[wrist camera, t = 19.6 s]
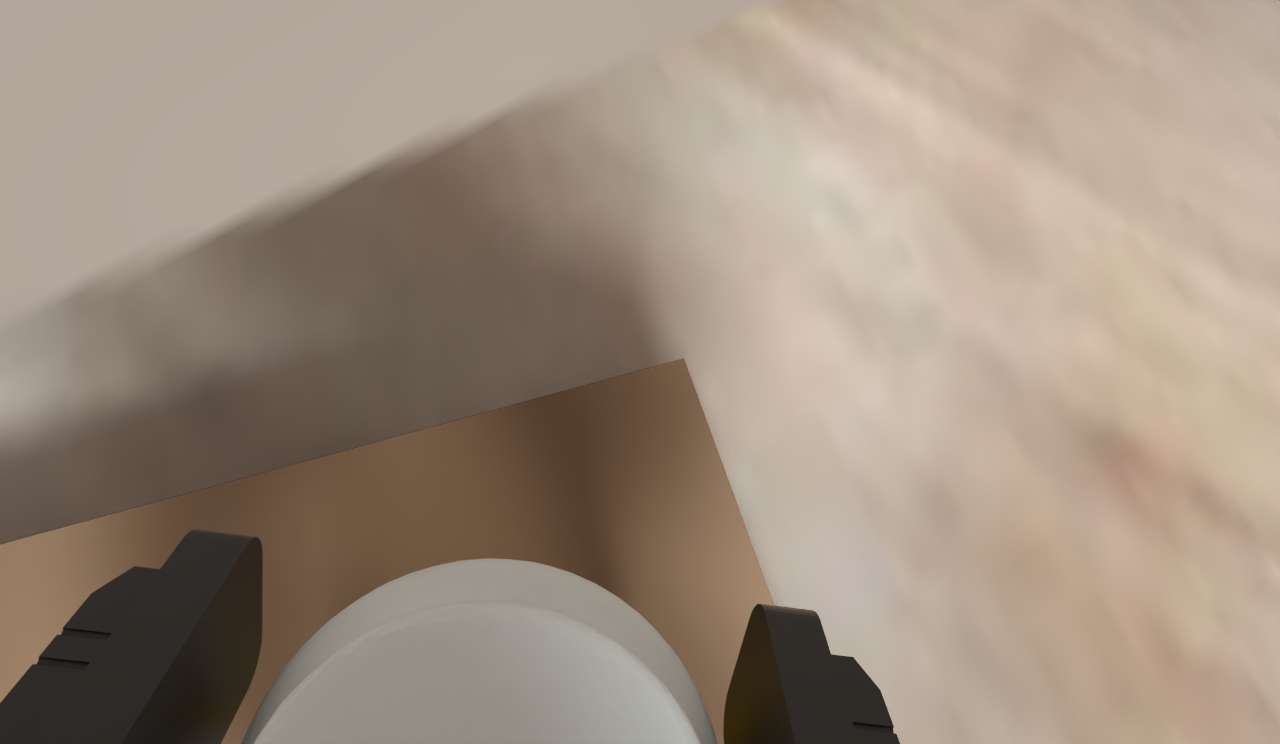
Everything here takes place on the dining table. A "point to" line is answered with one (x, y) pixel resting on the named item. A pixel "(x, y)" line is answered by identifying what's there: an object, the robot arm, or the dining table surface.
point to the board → (449, 527)
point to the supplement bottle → (484, 667)
